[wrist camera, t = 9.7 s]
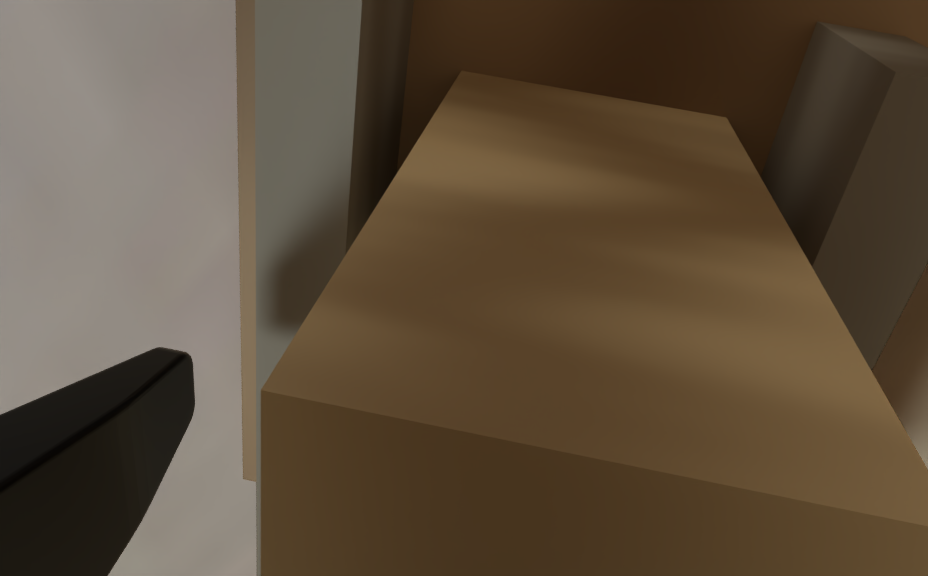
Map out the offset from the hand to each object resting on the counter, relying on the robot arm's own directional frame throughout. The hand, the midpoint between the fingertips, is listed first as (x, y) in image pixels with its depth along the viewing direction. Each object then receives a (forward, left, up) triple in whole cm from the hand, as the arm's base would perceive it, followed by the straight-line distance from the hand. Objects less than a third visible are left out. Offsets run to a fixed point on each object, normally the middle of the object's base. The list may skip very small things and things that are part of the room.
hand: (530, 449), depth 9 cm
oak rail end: (0, 0, -4) cm, 4 cm away
